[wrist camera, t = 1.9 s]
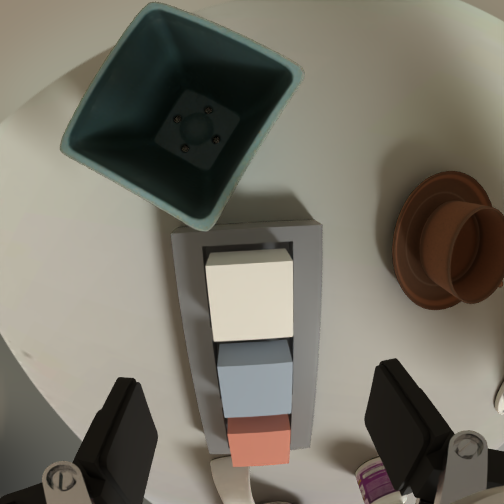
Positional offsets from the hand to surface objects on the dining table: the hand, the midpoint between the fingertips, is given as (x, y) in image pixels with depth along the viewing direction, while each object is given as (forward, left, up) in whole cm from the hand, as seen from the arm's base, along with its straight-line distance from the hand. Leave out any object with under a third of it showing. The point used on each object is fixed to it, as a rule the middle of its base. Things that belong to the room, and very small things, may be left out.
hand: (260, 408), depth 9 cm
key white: (0, 0, -12) cm, 12 cm away
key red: (0, +14, -12) cm, 18 cm away
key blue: (0, +7, -12) cm, 14 cm away
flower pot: (+3, -11, -14) cm, 18 cm away
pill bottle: (-15, +29, -14) cm, 36 cm away
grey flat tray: (0, +7, -14) cm, 16 cm away
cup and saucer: (-17, -2, -15) cm, 22 cm away
